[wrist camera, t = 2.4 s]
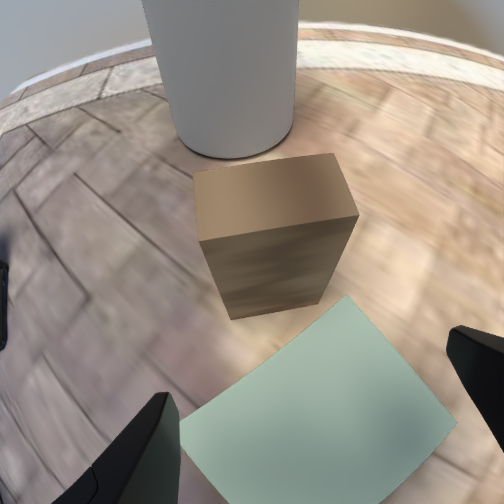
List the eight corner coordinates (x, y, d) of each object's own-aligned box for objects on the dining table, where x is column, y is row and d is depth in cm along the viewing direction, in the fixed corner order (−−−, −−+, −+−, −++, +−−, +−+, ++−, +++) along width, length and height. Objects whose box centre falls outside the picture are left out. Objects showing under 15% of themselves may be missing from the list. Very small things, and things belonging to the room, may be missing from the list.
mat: (291, 559, 14) (292, 563, 14) (170, 428, 19) (168, 428, 19) (453, 422, 18) (457, 422, 17) (344, 296, 23) (346, 294, 23)
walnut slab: (230, 319, 23) (198, 241, 12) (224, 276, 25) (192, 173, 14) (317, 303, 23) (359, 215, 12) (307, 261, 25) (333, 152, 14)
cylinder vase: (155, 130, 32) (93, -80, 10) (232, 79, 36) (214, -103, 14) (236, 183, 28) (200, -118, 6) (315, 117, 32) (333, -106, 10)
